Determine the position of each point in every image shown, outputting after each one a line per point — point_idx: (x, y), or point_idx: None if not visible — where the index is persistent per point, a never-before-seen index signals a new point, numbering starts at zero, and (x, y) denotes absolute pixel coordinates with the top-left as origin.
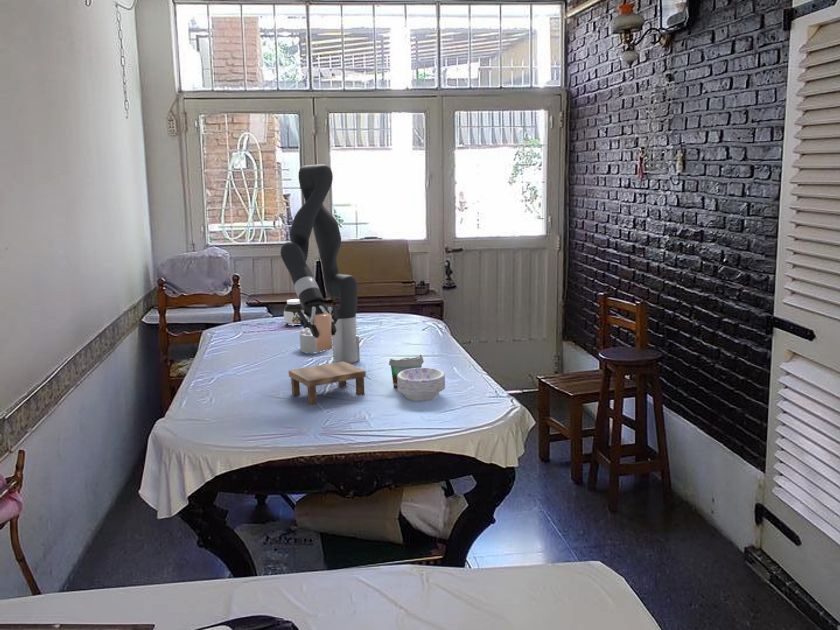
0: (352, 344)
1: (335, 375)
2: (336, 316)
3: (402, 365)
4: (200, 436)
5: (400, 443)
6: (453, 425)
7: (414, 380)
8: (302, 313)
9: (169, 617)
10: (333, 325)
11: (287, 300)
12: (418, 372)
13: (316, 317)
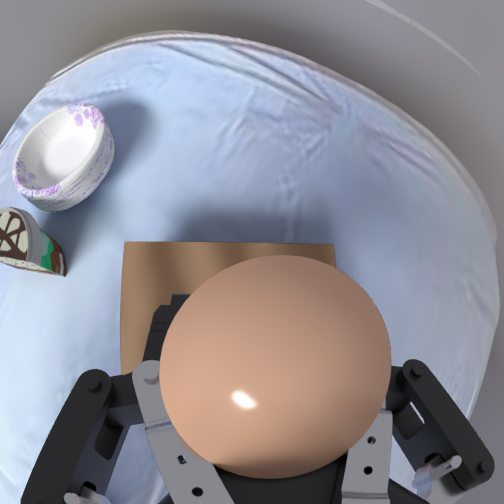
0: None
1: (234, 251)
2: (78, 401)
3: (31, 218)
4: (475, 219)
5: (254, 41)
6: (156, 51)
7: (97, 111)
8: (459, 451)
9: (429, 31)
10: (158, 346)
11: None
12: (32, 187)
13: (378, 326)
